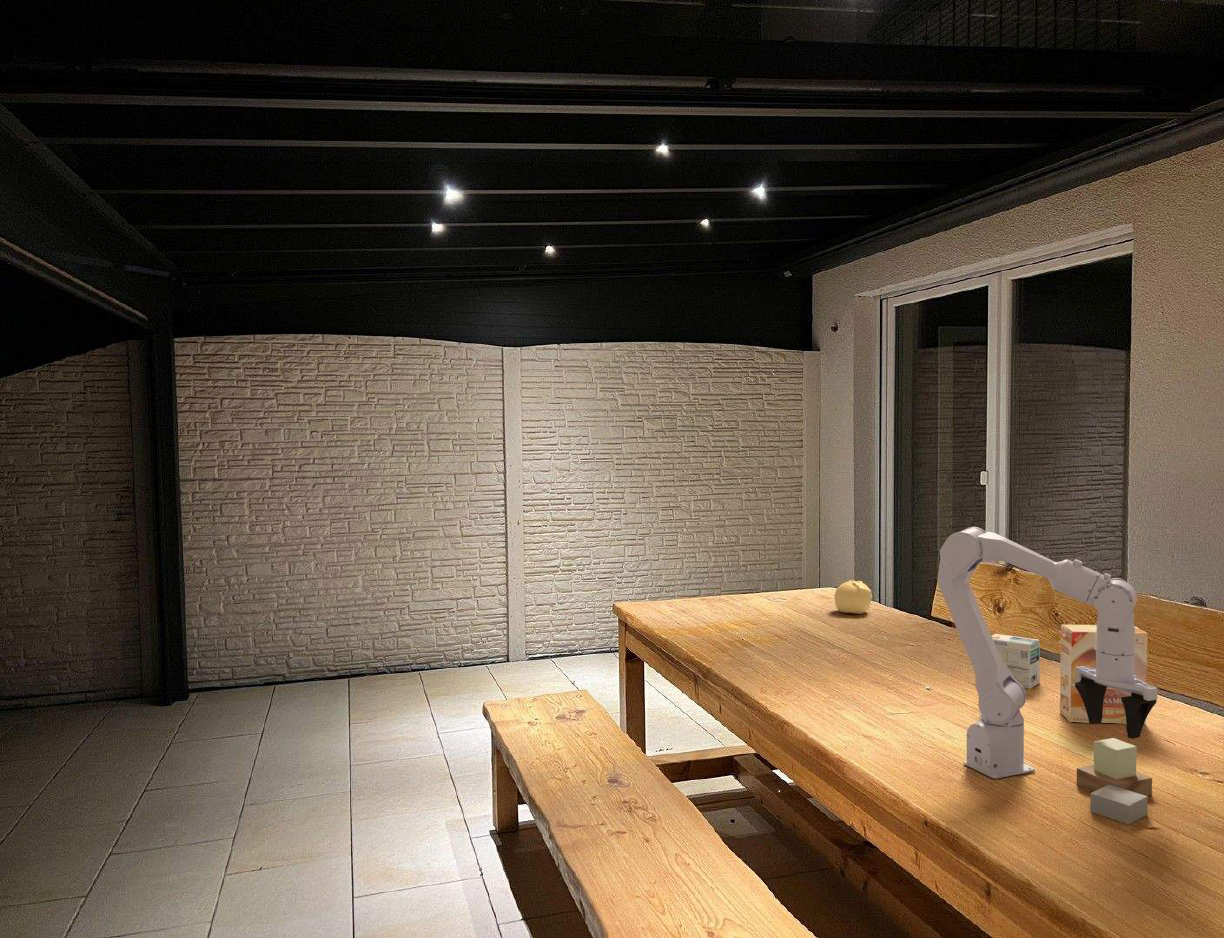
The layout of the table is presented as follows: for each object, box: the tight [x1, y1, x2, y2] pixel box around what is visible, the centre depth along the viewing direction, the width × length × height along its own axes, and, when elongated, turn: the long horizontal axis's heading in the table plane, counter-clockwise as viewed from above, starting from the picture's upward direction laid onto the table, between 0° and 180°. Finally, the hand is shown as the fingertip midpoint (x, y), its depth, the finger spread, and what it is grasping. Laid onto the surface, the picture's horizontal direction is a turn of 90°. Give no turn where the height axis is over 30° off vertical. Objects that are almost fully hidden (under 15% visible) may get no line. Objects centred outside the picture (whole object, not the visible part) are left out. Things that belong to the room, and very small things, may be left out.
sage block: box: [1093, 737, 1138, 779], centre depth 155 cm, size 4×4×5 cm
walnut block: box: [1076, 764, 1153, 797], centre depth 155 cm, size 8×8×3 cm
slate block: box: [1089, 785, 1148, 826], centre depth 146 cm, size 6×6×3 cm
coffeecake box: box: [1059, 624, 1148, 726], centre depth 191 cm, size 15×7×20 cm, turn 82°
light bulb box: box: [991, 633, 1041, 689], centre depth 218 cm, size 11×7×11 cm, turn 47°
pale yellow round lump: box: [834, 579, 873, 615], centre depth 299 cm, size 11×12×11 cm
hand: (1114, 730), depth 155 cm, fingers open, 7 cm apart
